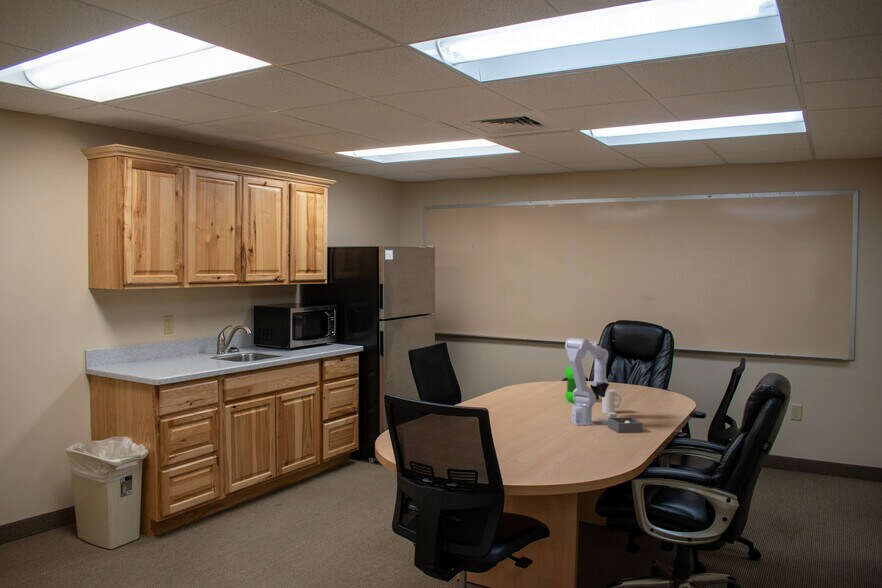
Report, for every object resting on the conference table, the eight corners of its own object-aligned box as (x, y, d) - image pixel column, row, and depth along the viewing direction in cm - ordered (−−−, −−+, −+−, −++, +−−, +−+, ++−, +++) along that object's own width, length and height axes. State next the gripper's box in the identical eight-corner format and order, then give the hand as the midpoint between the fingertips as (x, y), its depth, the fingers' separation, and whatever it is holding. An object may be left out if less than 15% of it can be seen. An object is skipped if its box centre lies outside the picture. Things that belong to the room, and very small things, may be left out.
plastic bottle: (581, 400, 379) (582, 357, 378) (583, 404, 368) (584, 360, 367) (564, 400, 380) (565, 357, 379) (565, 403, 369) (566, 359, 368)
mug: (601, 413, 345) (602, 391, 344) (601, 411, 351) (601, 388, 351) (621, 414, 343) (622, 392, 342) (620, 412, 349) (621, 389, 349)
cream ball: (625, 428, 311) (626, 421, 311) (623, 426, 314) (623, 419, 314) (632, 427, 312) (632, 421, 311) (629, 426, 315) (629, 419, 315)
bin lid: (603, 425, 320) (603, 416, 320) (595, 419, 333) (595, 410, 333) (629, 425, 321) (629, 416, 321) (620, 419, 334) (620, 410, 334)
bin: (618, 433, 303) (618, 423, 303) (607, 426, 315) (608, 417, 315) (642, 432, 305) (642, 422, 305) (631, 426, 317) (631, 417, 317)
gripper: (602, 374, 324) (601, 401, 325) (612, 370, 336) (612, 397, 336) (588, 372, 328) (588, 399, 329) (599, 369, 340) (599, 395, 340)
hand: (599, 398), depth 333 cm, fingers open, 7 cm apart
